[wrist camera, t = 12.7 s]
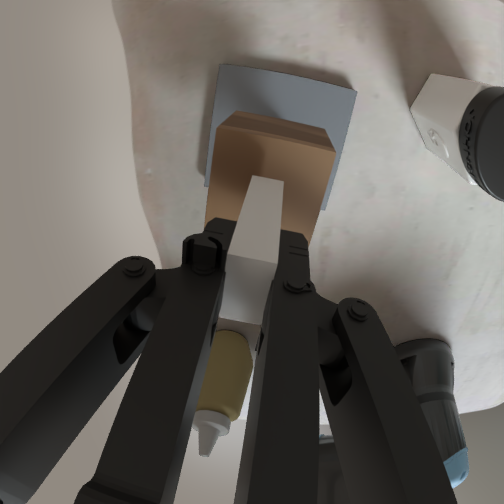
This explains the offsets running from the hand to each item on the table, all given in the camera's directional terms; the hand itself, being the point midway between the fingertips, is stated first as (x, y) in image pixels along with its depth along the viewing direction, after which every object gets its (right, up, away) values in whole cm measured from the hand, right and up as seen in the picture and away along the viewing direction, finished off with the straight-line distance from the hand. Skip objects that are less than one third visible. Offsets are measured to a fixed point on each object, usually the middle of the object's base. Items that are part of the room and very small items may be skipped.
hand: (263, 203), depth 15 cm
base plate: (+2, +9, +13) cm, 16 cm away
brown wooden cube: (+1, +4, +6) cm, 7 cm away
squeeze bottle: (-4, -15, +30) cm, 34 cm away
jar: (+19, +11, +9) cm, 24 cm away
